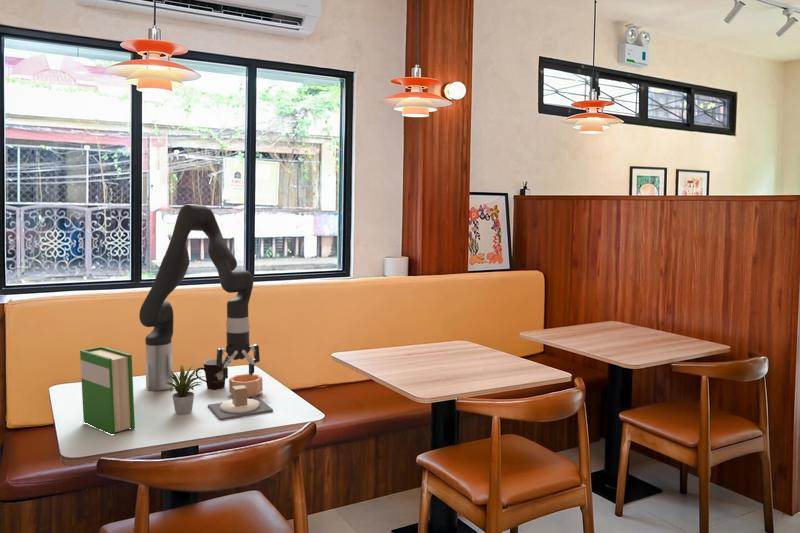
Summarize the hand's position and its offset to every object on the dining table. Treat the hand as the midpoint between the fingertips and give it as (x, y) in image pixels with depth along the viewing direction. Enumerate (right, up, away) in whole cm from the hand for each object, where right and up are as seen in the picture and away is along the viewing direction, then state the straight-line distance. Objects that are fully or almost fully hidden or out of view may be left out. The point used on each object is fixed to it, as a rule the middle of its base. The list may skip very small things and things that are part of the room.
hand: (238, 376), depth 226 cm
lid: (0, -11, +1) cm, 11 cm away
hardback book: (-37, -14, -16) cm, 43 cm away
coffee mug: (-16, -9, +26) cm, 32 cm away
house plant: (-18, -12, -3) cm, 22 cm away
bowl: (-2, -10, +19) cm, 21 cm away
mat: (0, -12, +1) cm, 12 cm away
